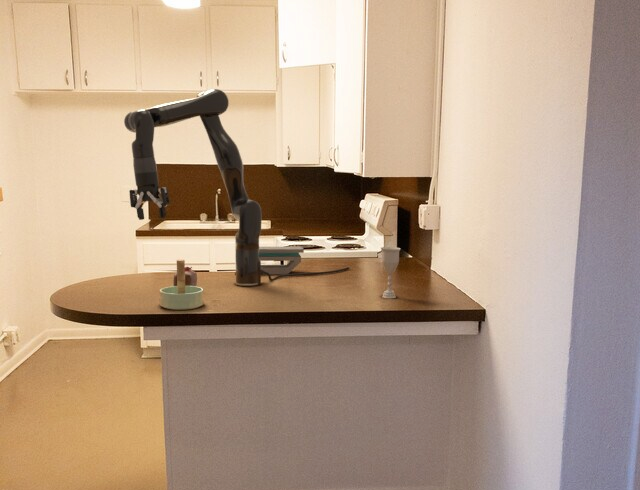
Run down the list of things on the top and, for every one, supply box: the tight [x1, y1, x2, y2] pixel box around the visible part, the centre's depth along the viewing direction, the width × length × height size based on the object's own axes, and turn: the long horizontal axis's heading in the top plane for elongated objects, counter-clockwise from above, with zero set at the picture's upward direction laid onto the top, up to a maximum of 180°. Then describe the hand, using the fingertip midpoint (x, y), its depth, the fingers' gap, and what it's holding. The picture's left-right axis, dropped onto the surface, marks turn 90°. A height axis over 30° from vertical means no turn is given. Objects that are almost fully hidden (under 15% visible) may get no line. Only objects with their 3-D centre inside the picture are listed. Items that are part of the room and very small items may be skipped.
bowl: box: [159, 285, 205, 311], centre depth 222 cm, size 14×14×6 cm
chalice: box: [380, 246, 401, 299], centre depth 241 cm, size 7×7×18 cm
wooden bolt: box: [176, 259, 186, 294], centre depth 221 cm, size 5×5×15 cm
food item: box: [173, 266, 198, 287], centre depth 242 cm, size 14×8×10 cm, turn 7°
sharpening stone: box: [259, 246, 305, 275], centre depth 287 cm, size 25×8×11 cm, turn 98°
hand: (152, 219), depth 227 cm, fingers open, 8 cm apart
